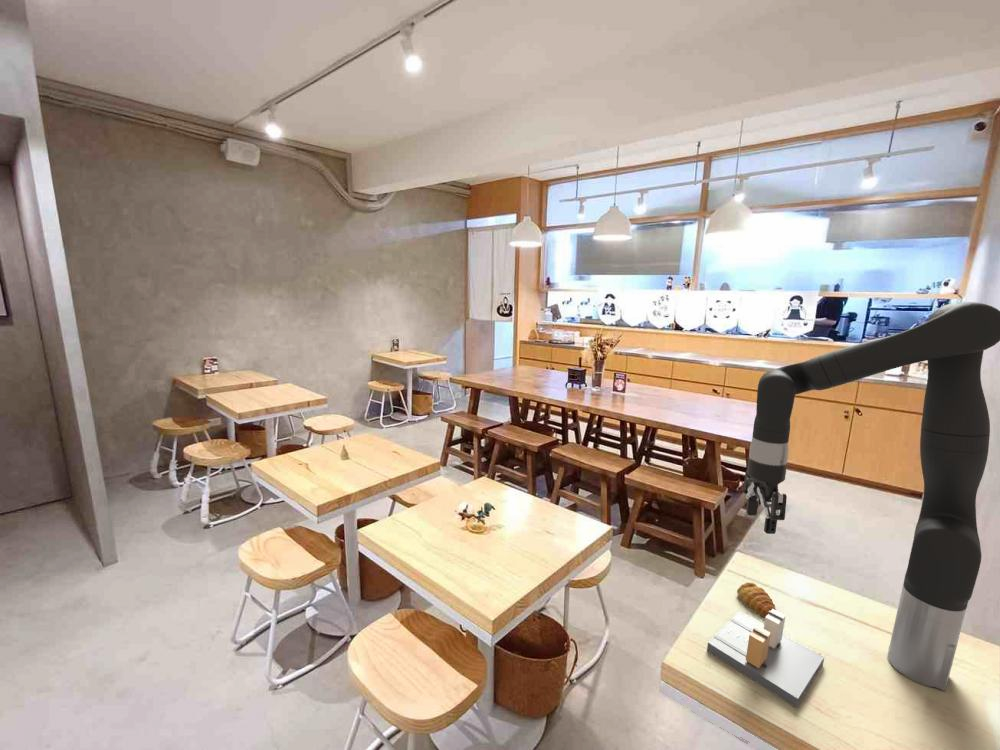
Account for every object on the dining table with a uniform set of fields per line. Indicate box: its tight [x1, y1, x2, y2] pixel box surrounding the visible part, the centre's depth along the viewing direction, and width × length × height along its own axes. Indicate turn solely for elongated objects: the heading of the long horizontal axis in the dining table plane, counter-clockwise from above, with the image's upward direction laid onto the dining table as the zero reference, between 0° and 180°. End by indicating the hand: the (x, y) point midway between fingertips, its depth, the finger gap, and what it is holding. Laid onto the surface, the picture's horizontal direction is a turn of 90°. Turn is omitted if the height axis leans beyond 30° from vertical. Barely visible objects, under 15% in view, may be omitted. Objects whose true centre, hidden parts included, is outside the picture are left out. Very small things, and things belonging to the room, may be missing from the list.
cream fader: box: [763, 609, 786, 649], centre depth 96 cm, size 3×4×6 cm, turn 129°
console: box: [706, 610, 825, 709], centre depth 95 cm, size 17×16×2 cm
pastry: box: [736, 582, 777, 619], centre depth 110 cm, size 9×7×4 cm
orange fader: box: [746, 626, 771, 668], centre depth 91 cm, size 3×4×6 cm, turn 130°
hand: (760, 523), depth 105 cm, fingers open, 8 cm apart
